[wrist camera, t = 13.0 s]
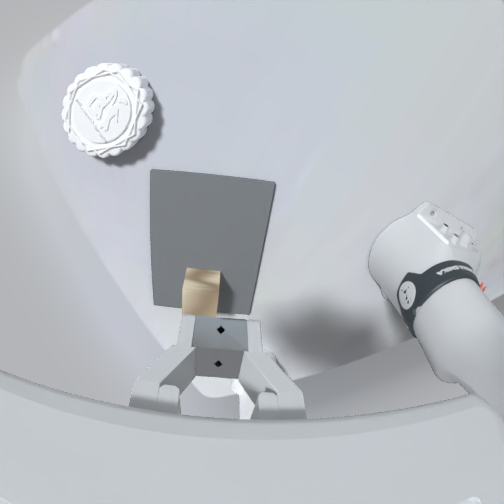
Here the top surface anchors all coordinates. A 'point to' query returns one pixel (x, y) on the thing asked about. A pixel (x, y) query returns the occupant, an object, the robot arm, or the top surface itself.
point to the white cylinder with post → (245, 400)
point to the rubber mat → (207, 234)
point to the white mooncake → (107, 109)
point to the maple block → (200, 292)
